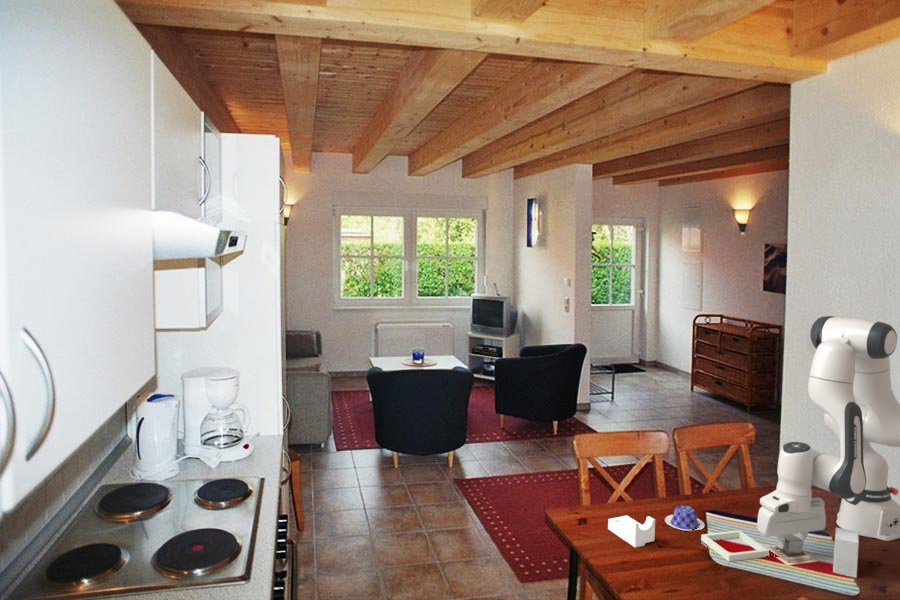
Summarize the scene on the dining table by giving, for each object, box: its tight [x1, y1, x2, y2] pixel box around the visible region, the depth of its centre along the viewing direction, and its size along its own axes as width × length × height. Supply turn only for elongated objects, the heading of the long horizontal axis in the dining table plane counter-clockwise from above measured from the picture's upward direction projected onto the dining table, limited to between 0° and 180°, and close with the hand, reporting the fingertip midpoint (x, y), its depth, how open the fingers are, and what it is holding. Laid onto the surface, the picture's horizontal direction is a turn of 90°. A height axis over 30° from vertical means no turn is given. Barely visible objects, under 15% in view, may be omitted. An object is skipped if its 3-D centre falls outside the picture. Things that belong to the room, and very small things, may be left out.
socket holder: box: [767, 544, 818, 566], centre depth 187 cm, size 10×10×2 cm
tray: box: [700, 529, 770, 565], centre depth 191 cm, size 13×13×2 cm
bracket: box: [607, 514, 656, 548], centre depth 200 cm, size 13×7×8 cm, turn 23°
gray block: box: [779, 534, 803, 557], centre depth 187 cm, size 4×4×5 cm
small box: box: [832, 527, 860, 579], centre depth 179 cm, size 8×6×10 cm
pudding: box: [664, 505, 706, 531], centre depth 208 cm, size 12×12×5 cm
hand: (790, 546), depth 187 cm, fingers open, 4 cm apart
